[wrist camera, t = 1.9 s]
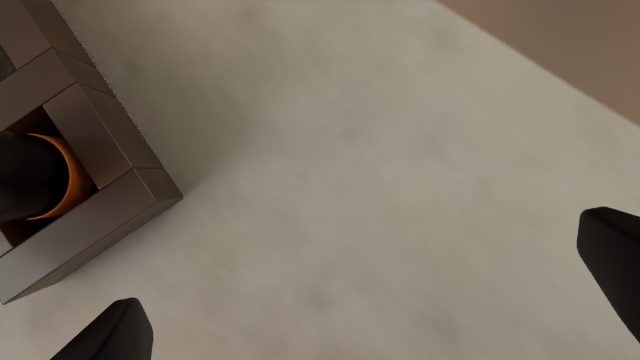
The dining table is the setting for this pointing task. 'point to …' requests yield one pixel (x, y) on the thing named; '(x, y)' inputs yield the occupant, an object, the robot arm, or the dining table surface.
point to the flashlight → (40, 177)
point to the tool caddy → (84, 139)
